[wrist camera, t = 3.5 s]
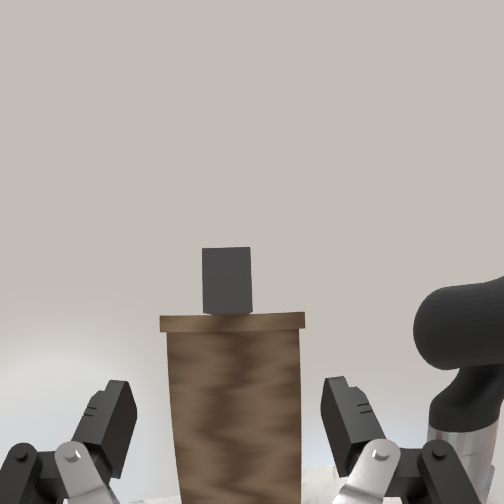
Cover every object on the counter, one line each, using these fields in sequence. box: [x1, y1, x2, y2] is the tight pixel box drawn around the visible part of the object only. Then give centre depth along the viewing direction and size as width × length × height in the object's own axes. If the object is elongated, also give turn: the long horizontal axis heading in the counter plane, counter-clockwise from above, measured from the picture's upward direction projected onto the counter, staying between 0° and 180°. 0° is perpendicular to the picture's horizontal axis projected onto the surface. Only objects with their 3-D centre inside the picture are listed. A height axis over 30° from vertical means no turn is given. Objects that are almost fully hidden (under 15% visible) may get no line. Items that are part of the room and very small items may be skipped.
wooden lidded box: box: [160, 312, 305, 504], centre depth 33 cm, size 13×16×32 cm
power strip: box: [202, 247, 253, 315], centre depth 31 cm, size 3×23×5 cm, turn 2°
